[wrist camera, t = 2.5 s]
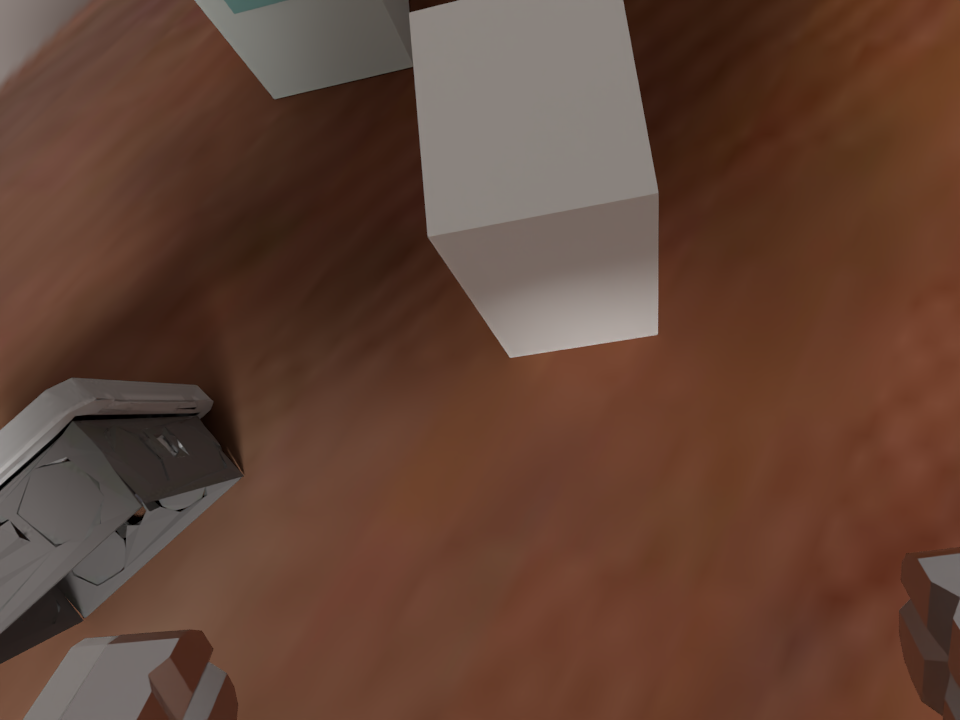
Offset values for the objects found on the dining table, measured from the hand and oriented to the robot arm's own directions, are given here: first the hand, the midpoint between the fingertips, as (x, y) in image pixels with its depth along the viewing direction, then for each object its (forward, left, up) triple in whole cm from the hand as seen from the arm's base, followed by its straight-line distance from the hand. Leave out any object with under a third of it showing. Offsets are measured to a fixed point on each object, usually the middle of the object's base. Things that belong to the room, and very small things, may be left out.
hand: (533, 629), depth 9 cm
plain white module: (0, -11, -15) cm, 19 cm away
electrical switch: (+16, -4, -16) cm, 23 cm away
